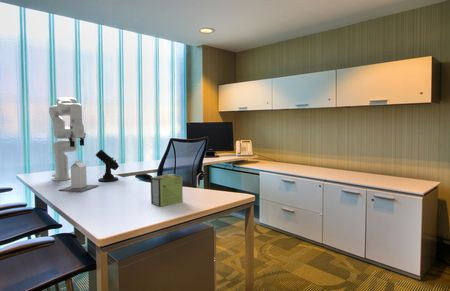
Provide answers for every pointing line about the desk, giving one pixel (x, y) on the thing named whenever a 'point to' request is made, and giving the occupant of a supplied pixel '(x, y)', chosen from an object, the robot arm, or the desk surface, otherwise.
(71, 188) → the rubber mat
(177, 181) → the protein box
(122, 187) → the desk surface
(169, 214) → the desk surface
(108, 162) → the microphone
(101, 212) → the desk surface
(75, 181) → the milk carton
